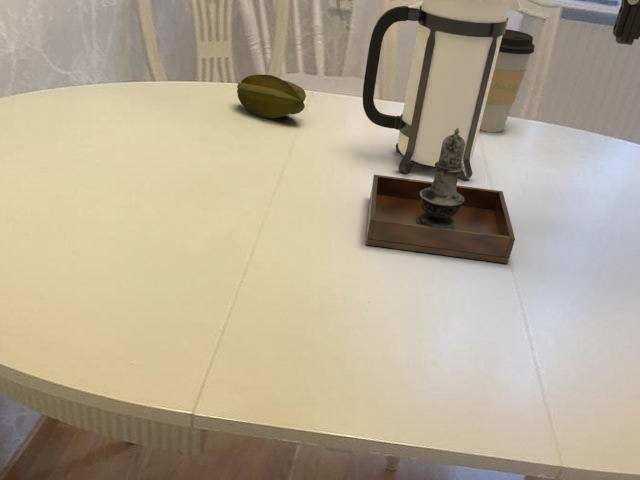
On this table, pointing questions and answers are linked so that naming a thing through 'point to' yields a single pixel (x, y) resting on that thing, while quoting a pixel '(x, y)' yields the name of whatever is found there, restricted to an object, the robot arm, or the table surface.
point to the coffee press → (441, 75)
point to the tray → (463, 241)
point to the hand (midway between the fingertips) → (623, 42)
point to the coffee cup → (506, 78)
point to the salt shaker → (444, 186)
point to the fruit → (270, 96)
